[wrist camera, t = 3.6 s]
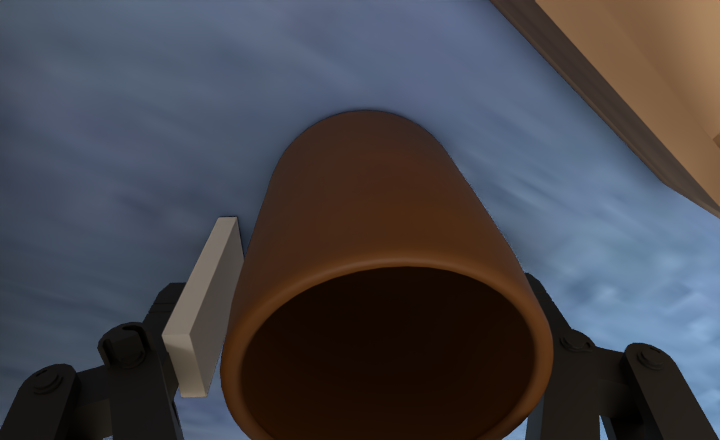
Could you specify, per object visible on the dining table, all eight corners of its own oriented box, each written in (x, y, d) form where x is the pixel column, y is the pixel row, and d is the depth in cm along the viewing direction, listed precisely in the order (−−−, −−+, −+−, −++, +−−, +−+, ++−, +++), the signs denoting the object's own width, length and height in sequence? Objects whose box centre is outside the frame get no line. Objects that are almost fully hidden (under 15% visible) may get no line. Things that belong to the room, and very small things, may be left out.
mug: (384, 346, 22) (415, 565, 14) (238, 320, 20) (175, 548, 12) (485, 135, 16) (639, 296, 8) (293, 76, 15) (242, 201, 6)
